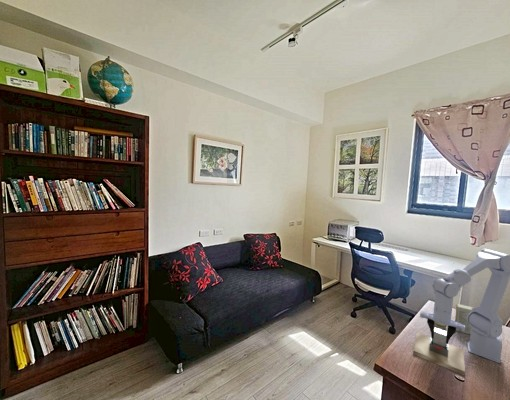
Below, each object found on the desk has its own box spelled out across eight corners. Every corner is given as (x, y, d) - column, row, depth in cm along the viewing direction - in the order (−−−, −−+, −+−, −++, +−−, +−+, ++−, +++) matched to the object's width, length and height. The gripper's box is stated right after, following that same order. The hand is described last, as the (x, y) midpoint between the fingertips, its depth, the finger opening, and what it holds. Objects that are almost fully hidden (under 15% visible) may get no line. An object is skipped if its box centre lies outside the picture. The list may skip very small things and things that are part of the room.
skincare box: (470, 330, 114) (473, 306, 113) (472, 335, 111) (475, 310, 110) (453, 326, 118) (456, 302, 117) (455, 330, 114) (457, 306, 113)
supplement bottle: (448, 329, 114) (450, 310, 114) (436, 328, 115) (438, 309, 115) (442, 323, 120) (444, 305, 119) (430, 321, 121) (432, 303, 120)
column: (444, 349, 98) (446, 331, 97) (444, 354, 94) (446, 336, 94) (432, 344, 100) (434, 327, 100) (432, 349, 97) (434, 331, 96)
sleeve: (447, 349, 98) (448, 342, 98) (447, 358, 93) (448, 351, 92) (429, 342, 102) (430, 336, 101) (429, 350, 96) (429, 344, 96)
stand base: (462, 352, 99) (462, 349, 98) (464, 375, 86) (465, 371, 86) (416, 335, 109) (417, 332, 109) (413, 353, 96) (413, 350, 96)
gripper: (420, 305, 98) (417, 336, 99) (467, 319, 88) (463, 353, 89) (421, 299, 103) (419, 329, 104) (465, 312, 94) (462, 344, 95)
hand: (439, 339), depth 97 cm, fingers closed on column, 4 cm apart
